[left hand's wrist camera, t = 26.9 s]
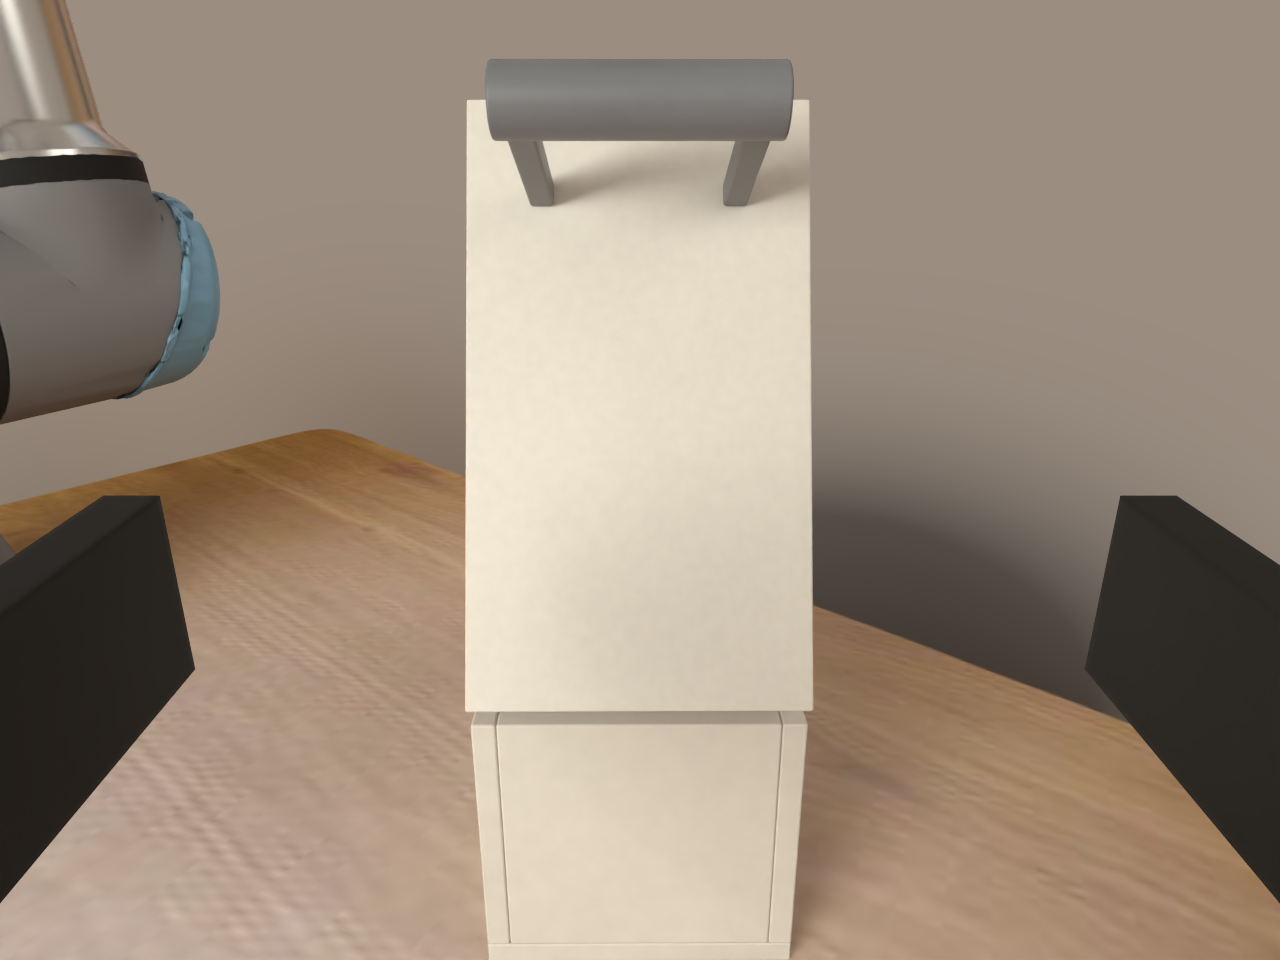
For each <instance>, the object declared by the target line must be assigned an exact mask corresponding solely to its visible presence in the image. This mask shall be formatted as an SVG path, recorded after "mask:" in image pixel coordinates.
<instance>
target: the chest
mask: <svg viewBox="0 0 1280 960" xmlns="http://www.w3.org/2000/svg"><path fill="white" fill-rule="evenodd" d="M807 731H808V724H807V720H806V717H805V714H804V711H657V712H475V713H474V716H473V720H472V724H471V737H472V749H473V762H474V775H475V787H476V800H477V812H478V825H479V837H480V850H481V863H482V875H483V888H484V900H485V913H486V925H487V938H488V953H489V960H788V959H789V958H790V947H791V934H792V921H793V909H794V896H795V883H796V871H797V858H798V845H799V833H800V820H801V807H802V794H803V782H804V769H805V756H806V744H807Z"/></svg>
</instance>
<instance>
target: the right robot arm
mask: <svg viewBox="0 0 1280 960" xmlns="http://www.w3.org/2000/svg"><path fill="white" fill-rule="evenodd" d="M219 309H220V286H219V276H218V270H217V265H216V260H215V256H214V253H213V249H212V246H211V244H210V241H209V239H208V237H207V234H206V232H205V230H204V228H203V227H202V225H201V224H200V223H199V222H197V221H193V213H192V212H191V211H190V209H189V208H188V207H187V206H186V205H185V204H183V203H182V202H181V201H179V200H177V199H175V198H173V197H169V196H167V195H165V194H163V193H159V192H155V191H151V189H150V185H149V182H148V178H147V175H146V172H145V168H144V165H143V161H142V158H141V156H140V155H139V154H138V153H136V152H135V151H133V150H132V149H131V148H129V147H128V146H126V145H125V144H123V143H122V142H120V141H119V140H117V139H116V138H114V137H113V136H111V135H110V134H108V133H107V131H106V130H105V129H104V128H103V125H102V122H101V118H100V115H99V112H98V108H97V105H96V101H95V98H94V95H93V91H92V88H91V85H90V81H89V78H88V74H87V71H86V68H85V64H84V61H83V58H82V54H81V51H80V47H79V44H78V41H77V37H76V34H75V31H74V27H73V24H72V21H71V17H70V14H69V10H68V7H67V4H66V0H0V424H4V423H9V422H13V421H17V420H22V419H26V418H30V417H35V416H39V415H43V414H48V413H52V412H56V411H61V410H65V409H70V408H74V407H78V406H83V405H87V404H91V403H96V402H100V401H104V400H108V399H121V398H131V397H134V396H136V395H138V394H140V393H141V392H143V391H144V390H148V389H151V388H155V387H158V386H162V385H165V384H168V383H172V382H175V381H177V380H179V379H182V378H184V377H185V376H187V375H188V374H190V373H191V372H192V371H193V370H194V369H195V368H196V367H197V366H198V365H199V364H200V363H201V362H202V360H203V359H204V357H205V355H206V353H207V352H208V350H209V345H210V341H211V340H212V339H213V338H214V336H215V332H216V328H217V324H218V318H219ZM15 555H16V554H15V553H14V551H13V550H12V549H11V547H10V546H9V545H8V543H7V542H6V541H5V539H4V538H3V537H2V536H1V534H0V565H1V564H3V563H4V562H6V561H7V560H9V559H10V558H12V557H13V556H15Z"/></svg>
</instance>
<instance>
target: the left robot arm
mask: <svg viewBox="0 0 1280 960" xmlns="http://www.w3.org/2000/svg"><path fill="white" fill-rule="evenodd" d="M194 670H195V667H194V662H193V657H192V652H191V647H190V642H189V637H188V632H187V627H186V623H185V618H184V613H183V608H182V603H181V598H180V593H179V588H178V583H177V579H176V574H175V569H174V564H173V559H172V554H171V549H170V544H169V539H168V534H167V530H166V525H165V520H164V515H163V510H162V505H161V500H160V496H102V497H101V498H99V499H98V500H96V501H95V502H93V503H92V504H90V505H89V506H88V507H86V508H85V509H83V510H82V511H80V512H79V513H77V514H76V515H74V516H73V517H71V518H70V519H68V520H67V521H65V522H64V523H62V524H61V525H59V526H58V527H56V528H55V529H53V530H52V531H50V532H49V533H47V534H46V535H44V536H43V537H41V538H40V539H38V540H37V541H35V542H34V543H33V544H31V545H30V546H28V547H27V548H25V549H24V550H22V551H21V552H19V553H18V554H16V555H15V556H13V557H12V558H10V559H9V560H7V561H6V562H4V563H3V564H1V565H0V903H1V902H2V900H3V899H4V898H5V897H6V896H7V894H8V893H9V892H10V891H11V890H12V888H13V887H14V886H15V885H16V884H17V882H18V881H19V880H20V879H21V878H22V876H23V875H24V874H25V873H26V872H27V870H28V869H29V868H30V867H31V866H32V864H33V863H34V862H35V861H36V860H37V858H38V857H39V856H40V855H41V854H42V852H43V851H44V850H45V849H46V848H47V846H48V845H49V844H50V843H51V842H52V840H53V839H54V838H55V837H56V836H57V834H58V833H59V832H60V831H61V830H62V828H63V827H64V826H65V825H66V824H67V822H68V821H69V820H70V819H71V818H72V816H73V815H74V814H75V813H76V812H77V810H78V809H79V808H80V807H81V806H82V804H83V803H84V802H85V801H86V800H87V798H88V797H89V796H90V795H91V794H92V792H93V791H94V790H95V789H96V788H97V786H98V785H99V784H100V783H101V782H102V780H103V779H104V778H105V777H106V776H107V774H108V773H109V772H110V771H111V770H112V768H113V767H114V766H115V765H116V764H117V762H118V761H119V760H120V759H121V758H122V756H123V755H124V754H125V753H126V752H127V750H128V749H129V748H130V747H131V746H132V744H133V743H134V742H135V741H136V740H137V738H138V737H139V736H140V735H141V734H142V732H143V731H144V730H145V729H146V727H147V726H148V725H149V724H150V723H151V721H152V720H153V719H154V718H155V717H156V715H157V714H158V713H159V712H160V711H161V709H162V708H163V707H164V706H165V705H166V703H167V702H168V701H169V700H170V699H171V697H172V696H173V695H174V694H175V693H176V691H177V690H178V689H179V688H180V687H181V685H182V684H183V683H184V682H185V681H186V679H187V678H188V677H189V676H190V675H191V673H192V672H193V671H194ZM1085 670H1086V671H1087V672H1088V673H1089V675H1090V676H1091V677H1092V678H1093V679H1094V681H1095V682H1096V683H1097V684H1098V685H1099V687H1100V688H1101V689H1102V690H1103V691H1104V693H1105V694H1106V695H1107V696H1108V697H1109V699H1110V700H1111V701H1112V702H1113V703H1114V705H1115V706H1116V707H1117V708H1118V709H1119V711H1120V712H1121V713H1122V714H1123V715H1124V717H1125V718H1126V719H1127V720H1128V721H1129V723H1130V724H1131V725H1132V726H1133V727H1134V729H1135V730H1136V731H1137V732H1138V734H1139V735H1140V736H1141V737H1142V738H1143V740H1144V741H1145V742H1146V743H1147V744H1148V746H1149V747H1150V748H1151V749H1152V750H1153V752H1154V753H1155V754H1156V755H1157V756H1158V758H1159V759H1160V760H1161V761H1162V762H1163V764H1164V765H1165V766H1166V767H1167V768H1168V770H1169V771H1170V772H1171V773H1172V774H1173V776H1174V777H1175V778H1176V779H1177V780H1178V782H1179V783H1180V784H1181V785H1182V786H1183V788H1184V789H1185V790H1186V791H1187V792H1188V794H1189V795H1190V796H1191V797H1192V798H1193V800H1194V801H1195V802H1196V803H1197V804H1198V806H1199V807H1200V808H1201V809H1202V810H1203V812H1204V813H1205V814H1206V815H1207V816H1208V818H1209V819H1210V820H1211V821H1212V822H1213V824H1214V825H1215V826H1216V827H1217V828H1218V830H1219V831H1220V832H1221V833H1222V834H1223V836H1224V837H1225V838H1226V839H1227V840H1228V842H1229V843H1230V844H1231V845H1232V846H1233V848H1234V849H1235V850H1236V851H1237V852H1238V854H1239V855H1240V856H1241V857H1242V858H1243V860H1244V861H1245V862H1246V863H1247V864H1248V866H1249V867H1250V868H1251V869H1252V870H1253V872H1254V873H1255V874H1256V875H1257V876H1258V878H1259V879H1260V880H1261V881H1262V882H1263V884H1264V885H1265V886H1266V887H1267V888H1268V890H1269V891H1270V892H1271V893H1272V894H1273V896H1274V897H1275V898H1276V899H1277V900H1278V902H1279V903H1280V565H1279V564H1277V563H1276V562H1274V561H1273V560H1271V559H1270V558H1268V557H1267V556H1265V555H1264V554H1262V553H1261V552H1259V551H1258V550H1256V549H1255V548H1253V547H1252V546H1250V545H1249V544H1247V543H1246V542H1245V541H1243V540H1242V539H1240V538H1239V537H1237V536H1236V535H1234V534H1233V533H1231V532H1230V531H1228V530H1227V529H1225V528H1224V527H1222V526H1221V525H1219V524H1218V523H1216V522H1215V521H1213V520H1212V519H1210V518H1209V517H1207V516H1206V515H1204V514H1203V513H1201V512H1200V511H1198V510H1197V509H1195V508H1194V507H1192V506H1191V505H1190V504H1188V503H1187V502H1185V501H1184V500H1182V499H1181V498H1179V497H1178V496H1120V500H1119V505H1118V510H1117V515H1116V520H1115V525H1114V530H1113V535H1112V539H1111V544H1110V549H1109V554H1108V559H1107V564H1106V569H1105V574H1104V579H1103V583H1102V588H1101V593H1100V598H1099V603H1098V608H1097V613H1096V618H1095V623H1094V627H1093V632H1092V637H1091V642H1090V647H1089V652H1088V657H1087V662H1086V667H1085Z"/></svg>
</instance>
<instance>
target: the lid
mask: <svg viewBox="0 0 1280 960" xmlns="http://www.w3.org/2000/svg"><path fill="white" fill-rule="evenodd" d="M793 94H794V79H793V68H792V64H791V62H790V60H788V59H490V60H488V62H487V66H486V73H485V100H467V246H466V248H467V249H466V587H465V711H466V712H657V711H813V569H812V568H813V565H812V415H811V269H810V268H811V266H810V116H809V100H793Z"/></svg>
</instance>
